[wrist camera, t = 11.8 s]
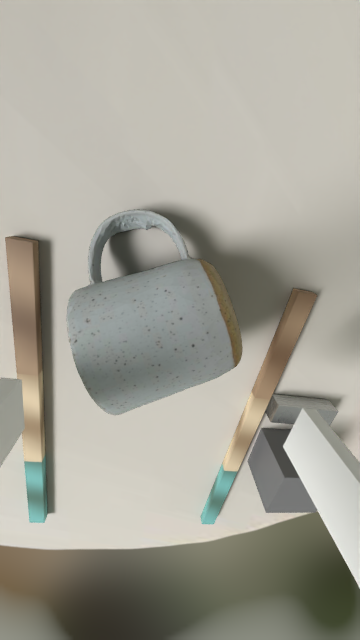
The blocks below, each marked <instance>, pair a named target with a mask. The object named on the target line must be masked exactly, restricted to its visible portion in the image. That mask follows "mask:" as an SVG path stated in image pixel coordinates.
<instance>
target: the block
mask: <svg viewBox="0 0 360 640" xmlns="http://www.w3.org/2000/svg"><path fill="white" fill-rule="evenodd" d="M290 432H291V430H285V429H266V428H261V430H260V432H259V435H258V437H257V440H256V442H255V445H254V447H253V449H252V452H251V454H250V457H249V459H248V464H249V466H250V469H251V472H252V475H253V478H254V480H255V483H256V486H257V489H258V492H259V494H260V497H261V500H262V503H263V506H264V508H265V511H266V513H297V512H316V511H317V508H316V506H315V505H314V503H313V501H312V499H311V497H310V495H309V494H308V492H307V490H306V488H305V486H304V484H303V483H302V481H301V479H300V477H299V475H298V473H297V472H296V470H295V468H294V466H293V464H292V462H291V460H290V459H289V457H288V455H287V453H286V451H285V449H284V448H283V445H284V443H285V442H286V440H287V438H288V436H289V434H290Z"/></svg>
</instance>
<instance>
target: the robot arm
mask: <svg viewBox="0 0 360 640" xmlns="http://www.w3.org/2000/svg"><path fill="white" fill-rule="evenodd" d="M24 428H25V424H24V409H23V393H22V380H20V379H10V378H1V379H0V467H1V465H2V464H3V462H4V460H5V459H6V457H7V456H8V454H9V452H10V451H11V449H12V448H13V446H14V444H15V443H16V441H17V440H18V438H19V436H20V435H21V433H22V432H23V430H24ZM283 448H284V449H285V451H286V453H287V455H288V457H289V459H290V460H291V462H292V464H293V466H294V468H295V470H296V472H297V473H298V475H299V477H300V479H301V481H302V483H303V484H304V486H305V488H306V490H307V492H308V494H309V495H310V497H311V499H312V501H313V503H314V505H315V506H316V508H317V510H318V512H319V514H320V515H321V517H322V519H323V521H324V523H325V525H326V527H327V529H328V530H329V532H330V534H331V536H332V538H333V539H334V541H335V543H336V545H337V547H338V549H339V550H340V552H341V554H342V556H343V558H344V560H345V562H346V563H347V565H348V567H349V569H350V571H351V573H352V574H353V576H354V578H355V580H356V582H357V584H358V585H359V587H360V462H359V461H358V460H357V459H356V457H355V456H354V455H353V454H352V453H351V451H350V450H349V449H348V448H347V447H346V445H345V444H344V443H343V442H342V440H341V439H340V438H339V437H338V436H337V434H336V433H335V432H334V431H333V429H332V428H331V427H330V426H329V425H328V423H327V422H326V421H325V420H324V418H323V417H322V416H321V415H320V414H319V412H318V411H317V410H316V409H308V408H302V410H301V412H300V414H299V416H298V418H297V420H296V422H295V424H294V426H293V428H292V430H291V432H290V434H289V436H288V438H287V440H286V442H285V443H284V445H283Z"/></svg>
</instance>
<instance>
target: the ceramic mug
mask: <svg viewBox="0 0 360 640" xmlns="http://www.w3.org/2000/svg"><path fill="white" fill-rule="evenodd" d="M152 226H155V227H158V228H160V229H162V230H163V231H164V232H165V233H167V234H168V235H169V236H170V237H171V238H172V240H173V242H174V243H175V244H176V246H177V248H178V250H179V252H180V256H181V261H177V262H173V263H169V264H166V265H162V266H159V267H156V268H153V269H150V270H147V271H143V272H139V273H135V274H130V275H127V276H124V277H119V278H115V279H112V280H107V281H105V282H102V277H101V256H102V251H103V248H104V245H105V244H106V242H107V240H108V239H109V238H110V237H111V236H114V235H115V234H116V233H118V232H123V231H128V230H132V229H139V228H143V229H146V230H148V229H150V228H151V227H152ZM88 272H89V280H90V285H88V286H87V287H84V288H81V289H78V290H76V291H74V292H73V294H72V295H71V297H70V299H69V302H68V307H67V318H66V320H67V330H68V338H69V343H70V347H71V350H72V354H73V359H74V362H75V364H76V367H77V370H78V373H79V375H80V377H81V379H82V381H83V383H84V386H85V387H86V389H87V391H88V393H89V395H90V396H91V398H92V399H93V400H94V401H95V402H96V404H97V405H98V406H99V407H100V408H101V409H103V410H104V411H105V412H106V413H108V414H111V415H119V414H122V413H125V412H127V411H130V410H132V409H135V408H137V407H140V406H143V405H145V404H148V403H151V402H153V401H156V400H159V399H162V398H164V397H167V396H170V395H172V394H175V393H177V392H180V391H182V390H185V389H187V388H190V387H193V386H196V385H199V384H202V383H205V382H207V381H210V380H213V379H215V378H217V377H219V376H221V375H223V374H224V373H226V372H228V371H230V370H231V369H233V368H234V367H236V366H237V364H238V363H239V361H240V359H241V356H242V340H241V334H240V329H239V325H238V322H237V318H236V315H235V312H234V309H233V306H232V302H231V300H230V297H229V295H228V293H227V290H226V288H225V285H224V283H223V281H222V279H221V277H220V275H219V274H218V272H217V270H216V269H215V268H214V267H213V265H212V264H210V263H208V262H206V261H205V260H202V259H192V258H190V257H189V255H188V251H187V248H186V245H185V242H184V240H183V238H182V237H181V235H180V232H179V231H178V230H177V229H176V227H175V226H174V225H173V224H172V223H171V222H170V221H169V220H168V219H167V218H165V217H163V216H161V215H160V214H157V213H155V212H152V211H150V210H140V209H137V210H129V211H124V212H120V213H117V214H115V215H113V216H111V217H109V218H107V219H106V220H105V221H104V222H103V223H102V224H101V225H100V226H99V227H98V229H97V230H96V232H95V234H94V236H93V238H92V241H91V245H90V247H89V256H88Z"/></svg>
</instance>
